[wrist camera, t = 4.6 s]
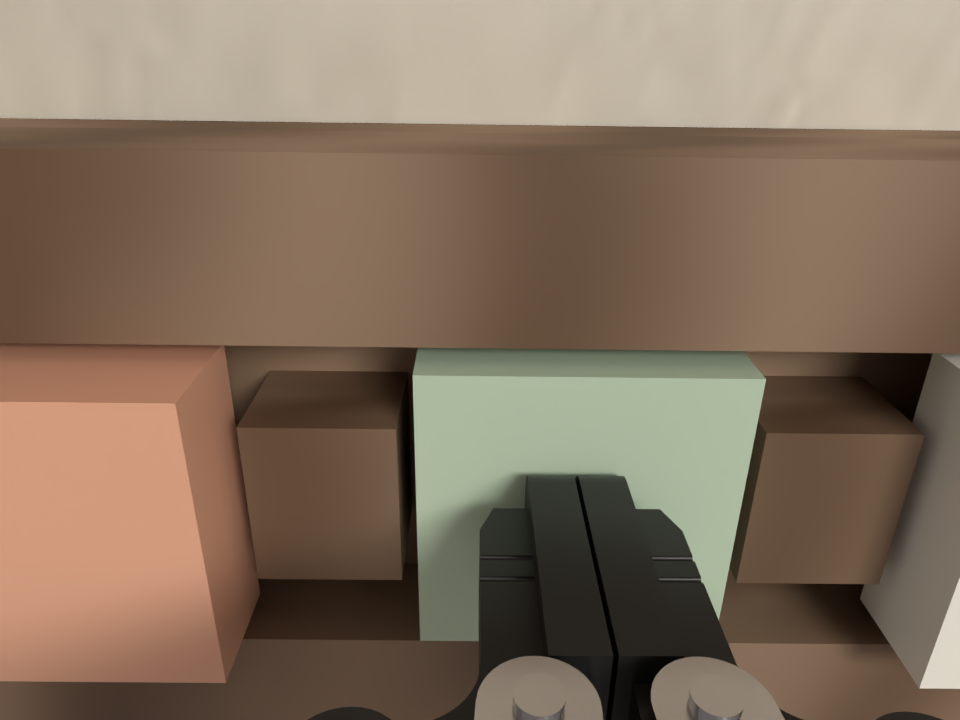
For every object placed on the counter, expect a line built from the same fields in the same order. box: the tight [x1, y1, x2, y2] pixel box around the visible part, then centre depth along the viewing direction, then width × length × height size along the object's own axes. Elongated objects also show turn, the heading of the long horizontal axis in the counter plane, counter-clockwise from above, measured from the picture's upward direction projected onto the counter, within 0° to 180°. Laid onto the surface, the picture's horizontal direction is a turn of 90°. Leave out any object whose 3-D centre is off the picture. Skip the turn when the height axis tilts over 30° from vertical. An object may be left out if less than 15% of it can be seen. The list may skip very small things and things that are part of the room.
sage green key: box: [413, 348, 766, 641], centre depth 12 cm, size 5×5×2 cm
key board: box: [0, 118, 960, 720], centre depth 13 cm, size 23×11×3 cm, turn 89°
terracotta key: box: [0, 343, 260, 683], centre depth 11 cm, size 5×5×2 cm
